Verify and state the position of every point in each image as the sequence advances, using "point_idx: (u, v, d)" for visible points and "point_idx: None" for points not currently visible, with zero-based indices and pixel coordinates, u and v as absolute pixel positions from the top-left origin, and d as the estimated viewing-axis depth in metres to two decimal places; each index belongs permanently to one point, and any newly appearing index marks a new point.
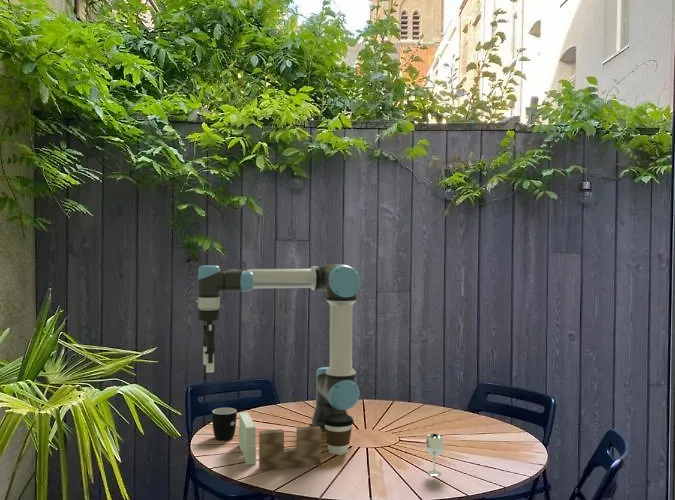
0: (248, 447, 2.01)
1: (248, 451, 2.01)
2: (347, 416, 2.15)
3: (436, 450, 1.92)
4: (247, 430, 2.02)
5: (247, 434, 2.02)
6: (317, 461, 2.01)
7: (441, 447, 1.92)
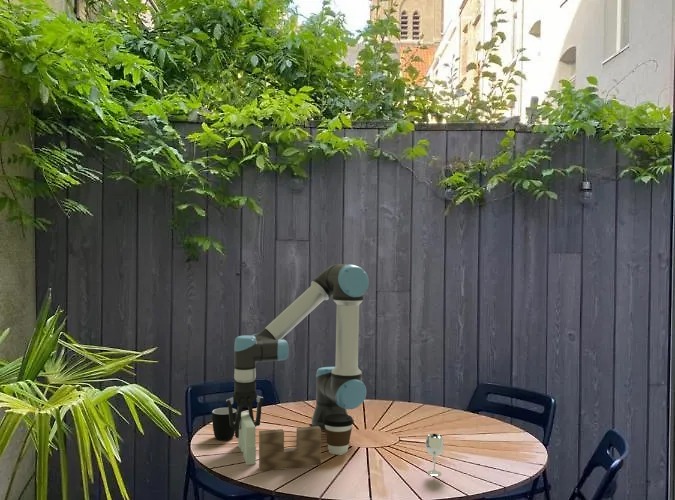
0: (248, 447, 2.01)
1: (248, 451, 2.01)
2: (347, 416, 2.15)
3: (436, 450, 1.92)
4: (247, 430, 2.02)
5: (247, 434, 2.02)
6: (317, 461, 2.01)
7: (441, 447, 1.92)
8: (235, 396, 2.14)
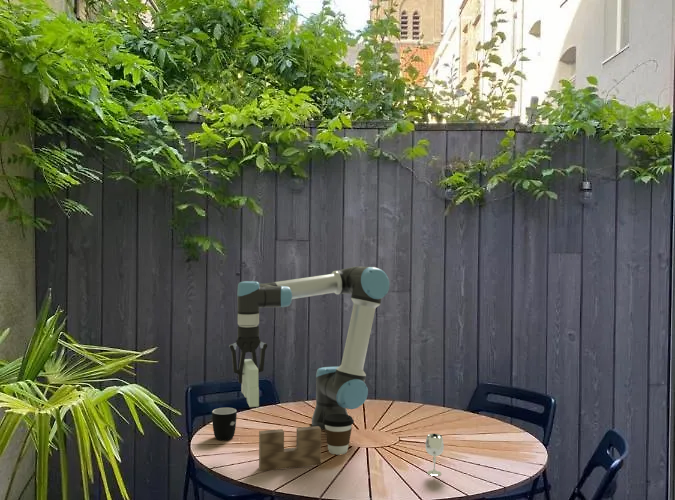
0: (251, 389, 2.00)
1: (251, 393, 2.00)
2: (347, 416, 2.15)
3: (436, 450, 1.92)
4: (250, 372, 2.00)
5: (250, 376, 2.00)
6: (317, 461, 2.01)
7: (441, 447, 1.92)
8: (238, 341, 2.13)
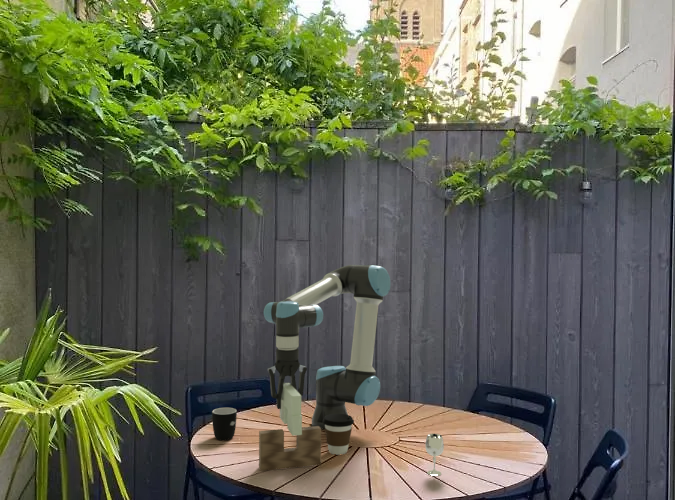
0: (294, 417, 1.90)
1: (294, 421, 1.90)
2: (347, 416, 2.15)
3: (436, 450, 1.92)
4: (293, 399, 1.90)
5: (293, 403, 1.90)
6: (317, 461, 2.01)
7: (441, 447, 1.92)
8: (277, 365, 2.02)
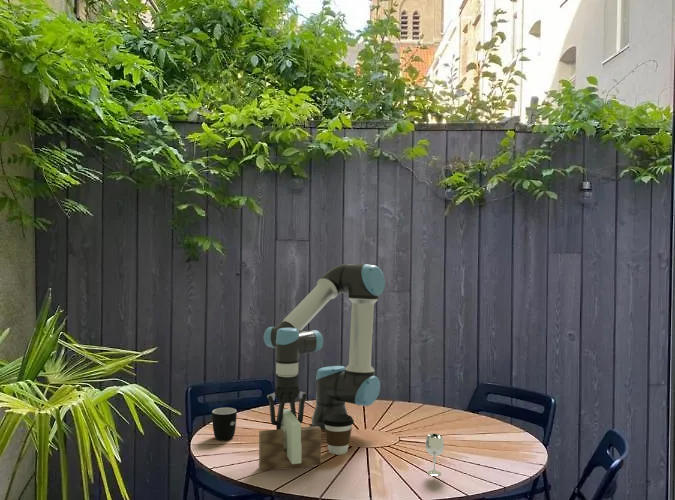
0: (293, 445, 1.90)
1: (293, 449, 1.90)
2: (347, 416, 2.15)
3: (436, 450, 1.92)
4: (292, 427, 1.90)
5: (292, 431, 1.90)
6: (317, 461, 2.01)
7: (441, 447, 1.92)
8: (277, 391, 2.03)
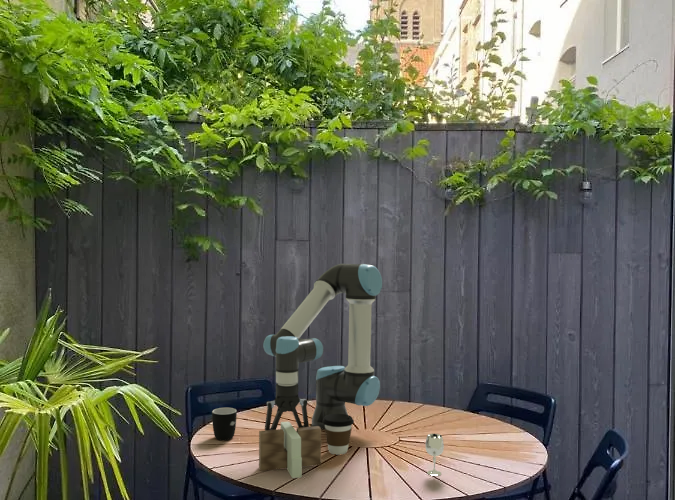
0: (294, 459, 1.90)
1: (294, 463, 1.90)
2: (347, 416, 2.15)
3: (436, 450, 1.92)
4: (292, 441, 1.91)
5: (292, 445, 1.91)
6: (317, 461, 2.01)
7: (441, 447, 1.92)
8: (277, 400, 2.03)
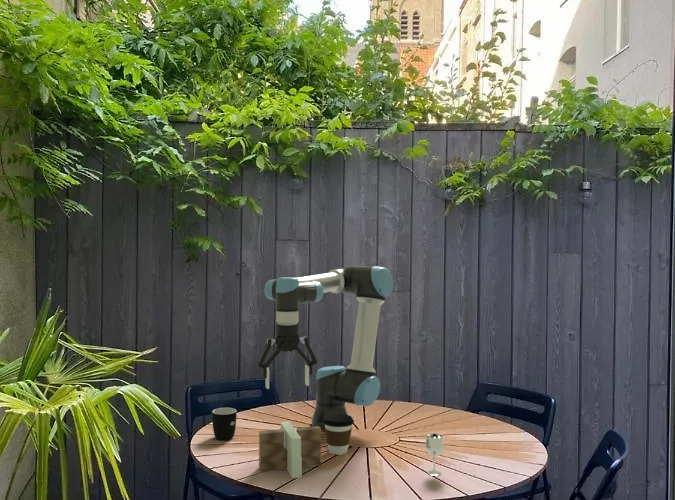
0: (294, 459, 1.90)
1: (294, 463, 1.90)
2: (347, 416, 2.15)
3: (436, 450, 1.92)
4: (292, 441, 1.91)
5: (292, 445, 1.91)
6: (317, 461, 2.01)
7: (441, 447, 1.92)
8: (278, 339, 2.03)
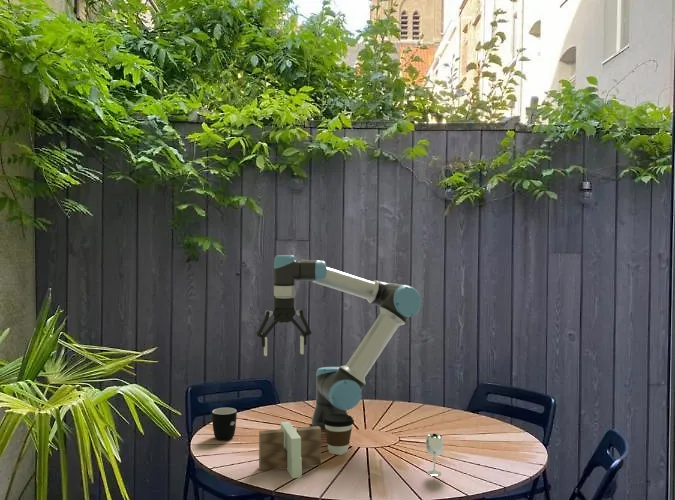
0: (294, 459, 1.90)
1: (294, 463, 1.90)
2: (347, 416, 2.15)
3: (436, 450, 1.92)
4: (292, 441, 1.91)
5: (292, 445, 1.91)
6: (317, 461, 2.01)
7: (441, 447, 1.92)
8: (276, 311, 2.23)
